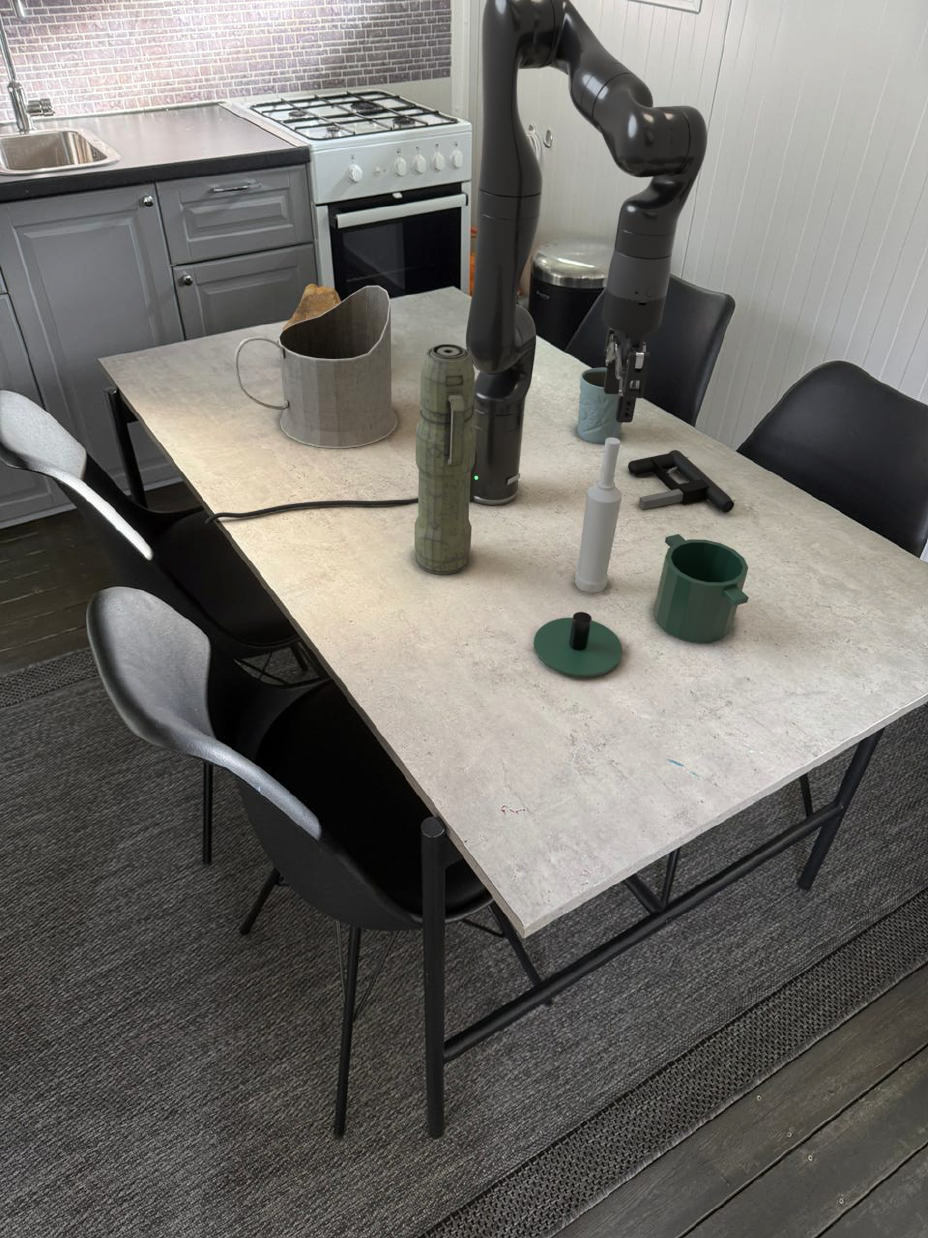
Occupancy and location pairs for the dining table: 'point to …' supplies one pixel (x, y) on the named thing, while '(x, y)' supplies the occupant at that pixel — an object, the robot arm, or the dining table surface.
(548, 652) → the lid
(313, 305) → the rough brown rock
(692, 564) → the pot
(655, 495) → the black staple gun
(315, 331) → the pitcher
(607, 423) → the blue embossed cup
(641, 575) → the dining table surface
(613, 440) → the bottle
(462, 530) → the thermos
